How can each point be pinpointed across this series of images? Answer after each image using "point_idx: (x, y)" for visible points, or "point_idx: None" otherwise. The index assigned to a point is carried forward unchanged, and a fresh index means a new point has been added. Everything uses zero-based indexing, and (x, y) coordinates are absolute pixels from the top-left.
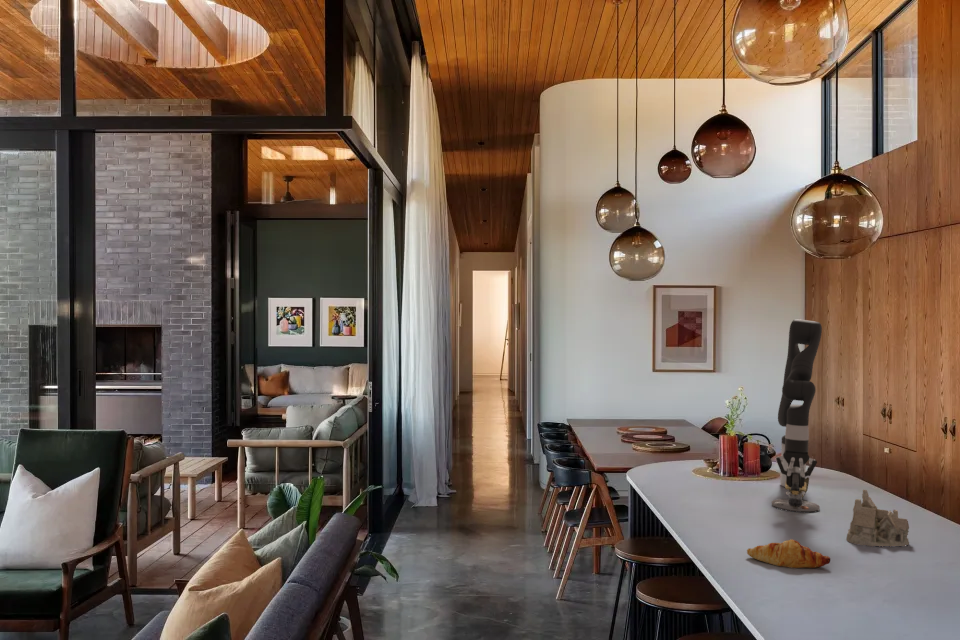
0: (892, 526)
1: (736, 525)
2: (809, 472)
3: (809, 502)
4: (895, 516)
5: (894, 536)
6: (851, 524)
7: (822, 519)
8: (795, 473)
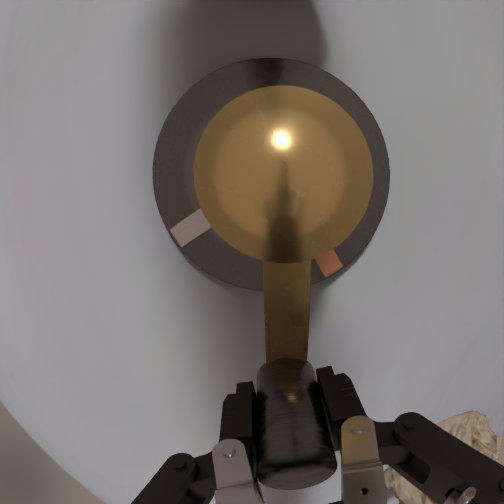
0: None
1: (150, 476)
2: (410, 466)
3: (340, 93)
4: None
5: None
6: (399, 496)
7: (376, 352)
8: (296, 486)
